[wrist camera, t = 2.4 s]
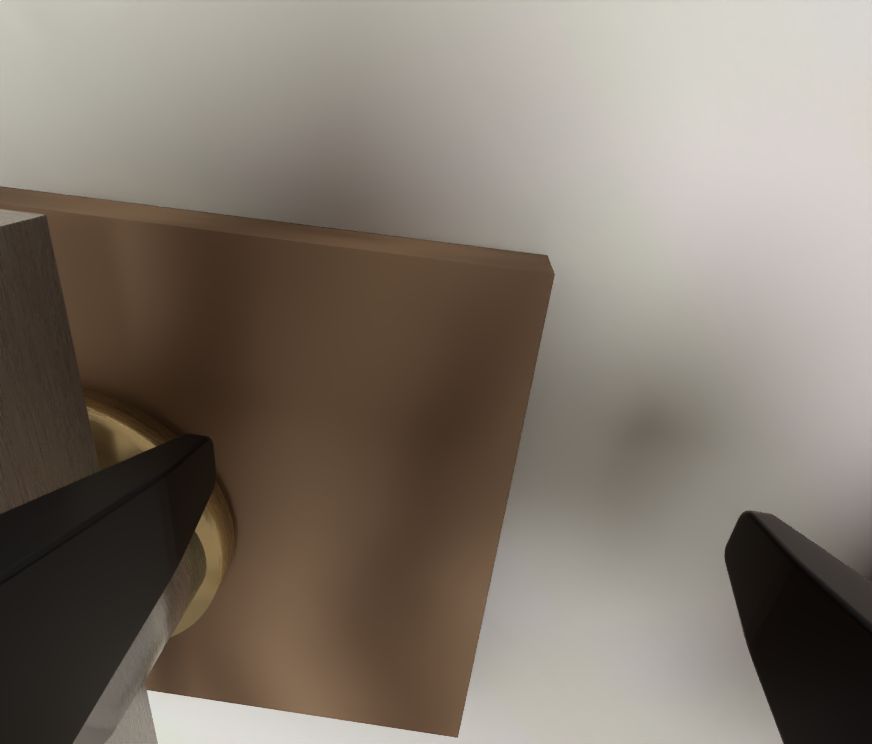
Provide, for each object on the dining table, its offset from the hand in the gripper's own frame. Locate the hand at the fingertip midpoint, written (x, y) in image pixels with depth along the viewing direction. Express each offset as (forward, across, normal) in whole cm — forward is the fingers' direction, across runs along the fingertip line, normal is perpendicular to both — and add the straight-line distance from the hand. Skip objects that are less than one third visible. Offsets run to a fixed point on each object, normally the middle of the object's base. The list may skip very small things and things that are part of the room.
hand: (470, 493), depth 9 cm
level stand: (+5, +7, +5) cm, 10 cm away
